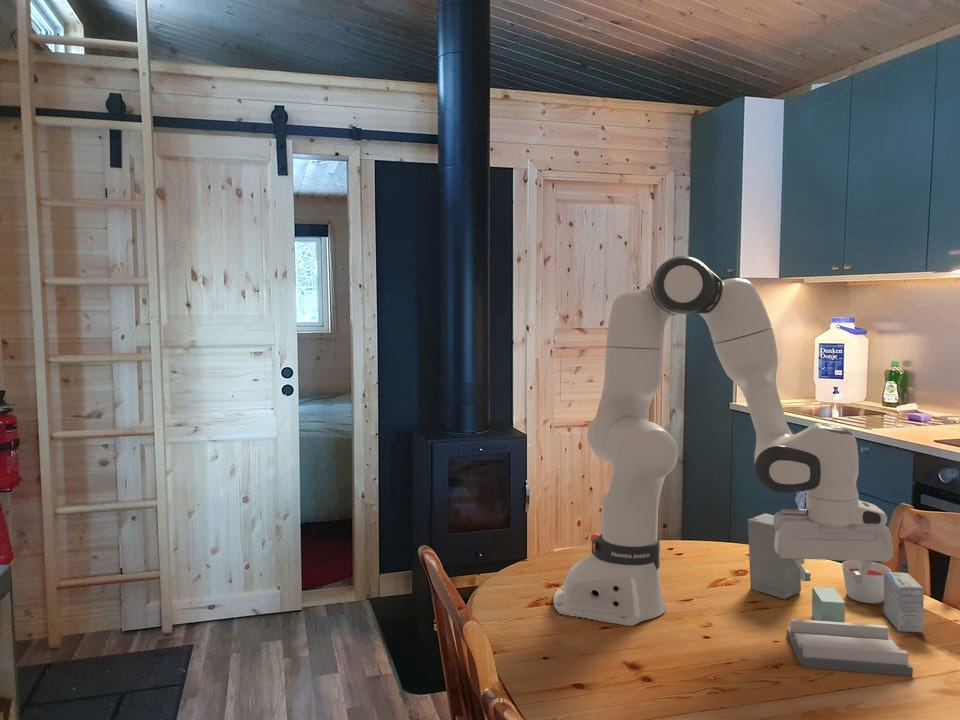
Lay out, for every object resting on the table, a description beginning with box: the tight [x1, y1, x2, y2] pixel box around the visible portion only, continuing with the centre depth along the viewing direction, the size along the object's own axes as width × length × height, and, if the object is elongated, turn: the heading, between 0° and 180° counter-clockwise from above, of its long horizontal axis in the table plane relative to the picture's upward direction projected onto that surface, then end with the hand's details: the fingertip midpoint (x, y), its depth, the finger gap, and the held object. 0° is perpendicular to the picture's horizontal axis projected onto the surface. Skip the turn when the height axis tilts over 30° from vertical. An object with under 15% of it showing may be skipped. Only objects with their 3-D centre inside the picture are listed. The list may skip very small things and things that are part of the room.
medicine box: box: [883, 571, 925, 634], centre depth 138 cm, size 8×4×9 cm, turn 168°
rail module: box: [811, 586, 846, 623], centre depth 138 cm, size 4×7×6 cm, turn 168°
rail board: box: [786, 618, 914, 677], centre depth 126 cm, size 17×12×4 cm
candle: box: [841, 560, 892, 604], centre depth 150 cm, size 9×9×6 cm
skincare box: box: [747, 512, 802, 600], centre depth 153 cm, size 8×7×16 cm
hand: (831, 581), depth 137 cm, fingers open, 8 cm apart
